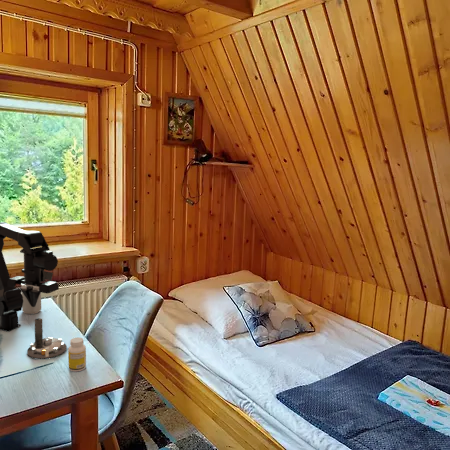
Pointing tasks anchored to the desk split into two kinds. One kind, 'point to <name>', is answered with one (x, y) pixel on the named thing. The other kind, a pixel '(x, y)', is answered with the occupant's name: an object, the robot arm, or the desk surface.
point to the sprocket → (44, 341)
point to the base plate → (46, 353)
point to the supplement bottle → (77, 355)
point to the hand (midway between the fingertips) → (33, 306)
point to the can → (27, 307)
